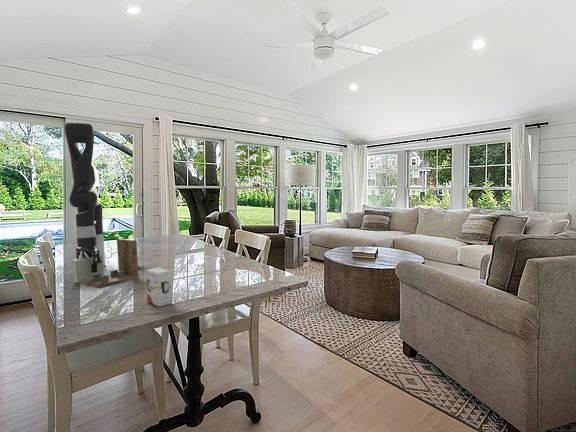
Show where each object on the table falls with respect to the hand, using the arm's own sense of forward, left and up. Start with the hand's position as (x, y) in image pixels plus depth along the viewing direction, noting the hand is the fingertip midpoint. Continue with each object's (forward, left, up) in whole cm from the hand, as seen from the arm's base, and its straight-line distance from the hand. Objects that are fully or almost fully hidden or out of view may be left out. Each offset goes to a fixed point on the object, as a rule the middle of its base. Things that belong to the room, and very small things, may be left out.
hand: (88, 271), depth 154 cm
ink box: (+55, -7, -4) cm, 56 cm away
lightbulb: (-4, +26, -4) cm, 27 cm away
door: (0, 0, -4) cm, 4 cm away
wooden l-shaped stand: (+12, +3, -4) cm, 13 cm away
